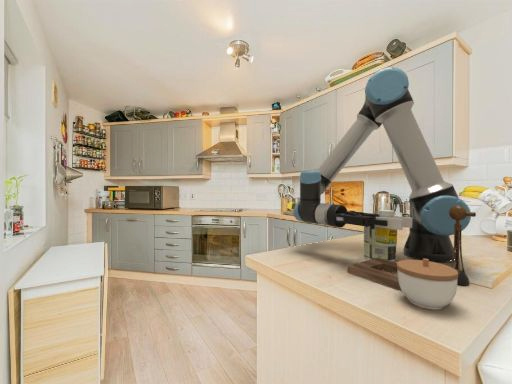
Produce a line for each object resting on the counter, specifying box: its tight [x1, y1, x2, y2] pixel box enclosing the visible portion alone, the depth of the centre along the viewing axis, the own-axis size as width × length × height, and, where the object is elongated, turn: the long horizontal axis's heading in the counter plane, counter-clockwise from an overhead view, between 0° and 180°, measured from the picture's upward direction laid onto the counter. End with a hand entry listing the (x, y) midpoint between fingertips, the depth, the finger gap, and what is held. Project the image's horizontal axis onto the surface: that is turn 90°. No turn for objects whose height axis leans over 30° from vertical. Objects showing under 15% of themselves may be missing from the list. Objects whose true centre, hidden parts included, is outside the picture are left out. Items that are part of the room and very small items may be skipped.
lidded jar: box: [397, 259, 458, 311], centre depth 52 cm, size 11×11×9 cm
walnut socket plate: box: [346, 258, 402, 292], centre depth 68 cm, size 15×15×2 cm
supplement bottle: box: [376, 209, 398, 247], centre depth 68 cm, size 5×5×10 cm
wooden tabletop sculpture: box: [449, 205, 477, 287], centre depth 62 cm, size 6×5×20 cm
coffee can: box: [363, 225, 397, 262], centre depth 85 cm, size 10×10×14 cm
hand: (406, 223), depth 64 cm, fingers closed on supplement bottle, 5 cm apart
